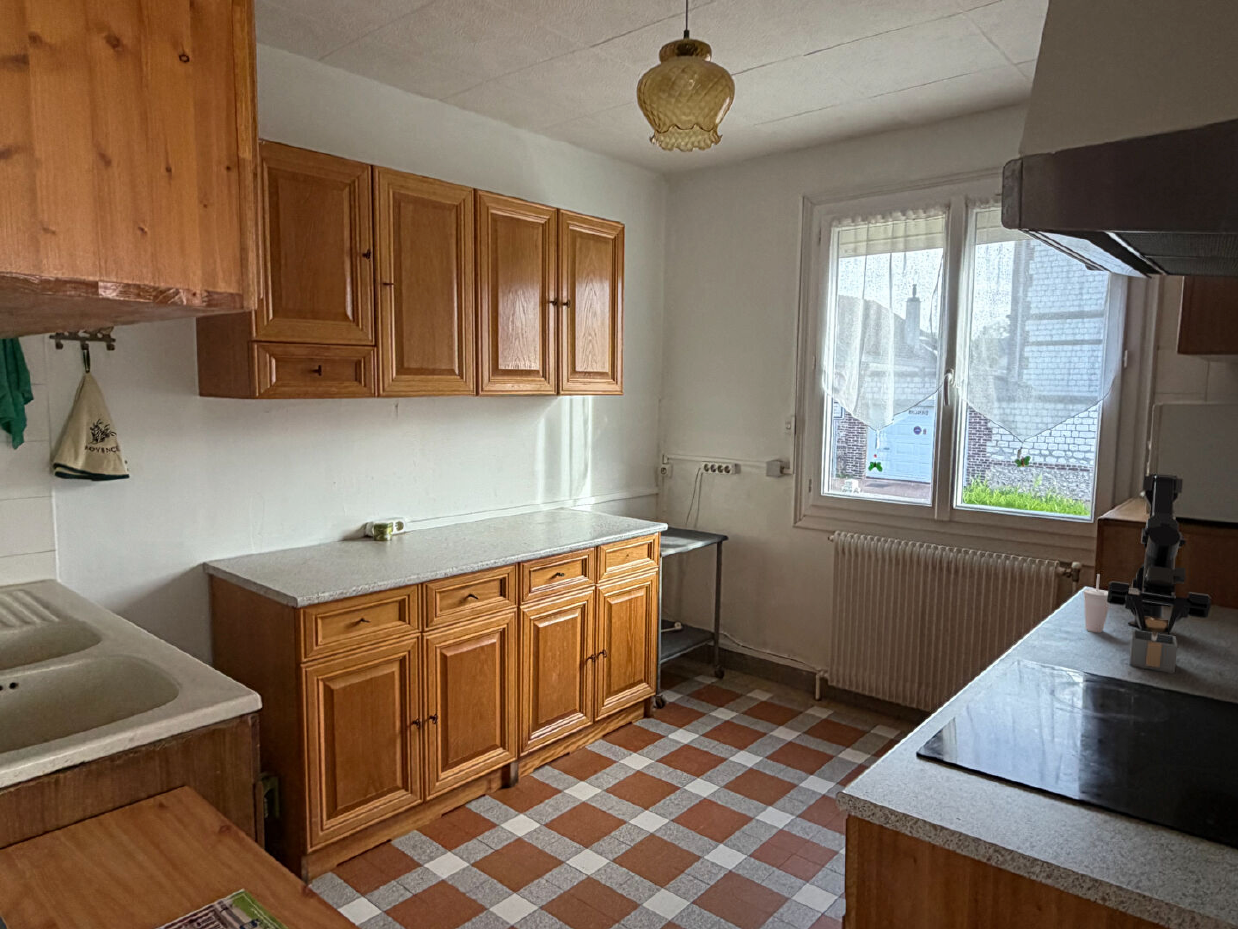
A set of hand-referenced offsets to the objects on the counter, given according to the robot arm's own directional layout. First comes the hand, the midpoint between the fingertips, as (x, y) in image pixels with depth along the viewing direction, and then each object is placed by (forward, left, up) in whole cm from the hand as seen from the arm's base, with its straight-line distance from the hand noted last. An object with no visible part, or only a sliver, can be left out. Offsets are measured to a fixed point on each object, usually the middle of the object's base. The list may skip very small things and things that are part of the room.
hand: (1155, 632), depth 173 cm
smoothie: (-15, -20, -8) cm, 26 cm away
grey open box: (-1, -1, -8) cm, 8 cm away
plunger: (-1, -1, -6) cm, 7 cm away
